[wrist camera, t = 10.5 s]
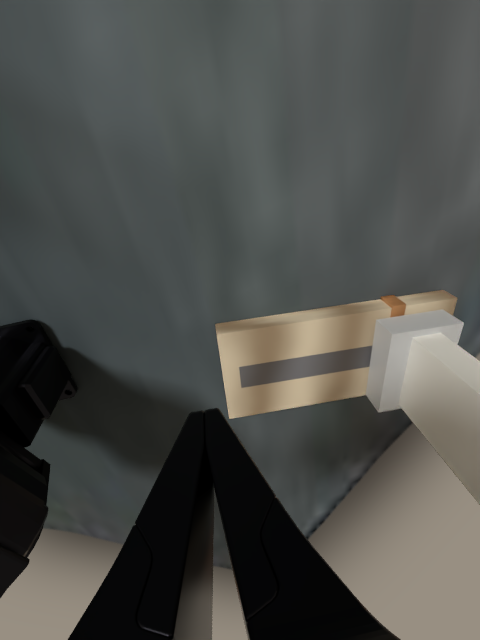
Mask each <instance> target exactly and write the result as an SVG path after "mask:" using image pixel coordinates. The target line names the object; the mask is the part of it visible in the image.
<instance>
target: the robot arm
mask: <svg viewBox="0 0 480 640" xmlns="http://www.w3.org/2000/svg"><path fill="white" fill-rule="evenodd" d="M29 326H32V327H33V328H34V330H32V329H30V328H29ZM68 390H71V391H68ZM76 392H77V387H76V385H75V383H74V381H73V380H72V378H71V373H70V372H69V370H68V368H67V367H66V365H65V363H64V361H63V360H62V358H61V356H60V354H59V353H58V351H57V349H56V348H55V347H54V346H53V345H52V344H51V342H50V340H49V339H48V337H47V335H46V333H45V332H44V330H43V328H42V326H41V325H40V324H39V322H37V321H35V320H26V321H21V322H17V323H12V324H8V325H3V326H0V598H1V597H2V595H3V594H4V592H5V591H6V590H7V588H8V587H9V586H10V585H11V584H12V583H13V582H14V581H15V579H16V578H17V577H18V576H19V575H20V574H21V573H22V572H23V570H24V569H25V568H26V567H27V565H28V564H29V559H28V558H27V557H28V556H29V554H30V553H31V551H32V550H33V548H34V546H35V544H36V542H37V540H38V539H39V536H40V534H41V531H42V529H43V525H44V522H45V519H46V517H47V514H48V507H47V506H46V503H47V493H48V483H49V474H50V464H49V463H48V462H46V461H45V460H44V459H42V460H40V459H39V458H38V457H36V456H35V455H33V454H32V453H31V452H29V451H28V450H26V449H25V448H24V447H28V446H30V445H31V443H32V441H33V439H34V437H35V435H36V433H37V432H38V430H39V428H40V426H41V424H42V422H43V420H44V419H48V418H49V417H50V415H51V413H52V411H53V409H54V408H55V406H56V404H57V402H58V400H63V399H67V398H71V397H74V396H75V394H76ZM214 488H215V493H216V497H217V502H218V506H219V511H220V515H221V520H222V524H223V529H224V533H225V538H226V542H227V547H228V551H229V556H230V560H231V565H232V569H233V574H234V578H235V583H236V587H237V592H238V596H239V600H240V605H241V609H242V614H243V619H244V623H245V628H246V632H247V636H248V640H400V639H399V638H398V637H397V636H395V635H394V634H392V633H391V632H390V631H389V630H388V629H386V628H385V627H384V626H383V625H382V624H381V623H380V622H379V621H378V620H377V619H376V618H375V617H374V616H372V615H371V613H370V612H369V611H368V610H367V609H366V608H365V607H364V606H363V605H362V604H361V603H360V602H359V600H358V599H357V598H356V597H355V596H354V595H353V594H352V592H351V591H350V590H349V589H348V588H347V586H346V585H345V584H344V583H343V582H342V580H341V579H340V578H339V577H338V576H337V574H335V572H334V571H333V570H332V569H331V567H330V566H329V565H328V564H327V563H326V562H325V560H324V559H323V558H322V557H321V556H320V554H319V553H318V552H317V551H316V550H315V549H314V548H313V546H312V545H311V543H310V542H309V541H308V540H307V538H306V537H305V536H304V535H303V533H302V532H301V531H300V530H299V528H298V527H297V526H296V524H295V523H294V521H293V520H292V518H291V517H290V516H289V514H288V513H287V511H286V510H285V508H284V507H283V505H282V504H281V502H280V501H279V499H278V498H276V495H275V493H274V492H273V490H272V489H271V487H270V486H269V484H268V483H267V481H266V480H265V478H264V477H263V475H262V474H261V472H260V471H259V469H258V468H257V466H256V464H255V463H254V461H253V460H252V458H251V457H250V455H249V454H248V452H247V451H246V449H245V448H244V446H243V445H242V443H241V442H240V440H239V439H238V437H237V436H236V434H235V432H234V431H233V429H232V428H231V426H230V425H229V423H228V422H227V420H226V419H225V417H224V416H223V414H222V413H221V411H220V410H219V409H218V408H214V409H208V410H205V413H204V411H196V412H191V413H190V414H189V416H188V417H187V420H186V422H185V424H184V426H183V428H182V430H181V432H180V434H179V436H178V438H177V440H176V442H175V444H174V446H173V448H172V450H171V452H170V454H169V456H168V458H167V460H166V462H165V464H164V466H163V468H162V470H161V472H160V474H159V476H158V478H157V480H156V482H155V484H154V486H153V488H152V490H151V492H150V494H149V496H148V498H147V500H146V502H145V504H144V506H143V508H142V510H141V512H140V514H139V516H138V518H137V520H136V522H135V524H136V525H134V526H133V527H132V529H131V531H130V533H129V535H128V537H127V539H126V541H125V543H124V545H123V547H122V549H121V551H120V553H119V555H118V557H117V558H116V560H115V562H114V564H113V566H112V568H111V569H110V571H109V573H108V575H107V576H106V578H105V579H104V581H103V583H102V585H101V586H100V588H99V590H98V591H97V593H96V595H95V596H94V598H93V599H92V601H91V603H90V605H89V606H88V608H87V609H86V611H85V613H84V614H83V616H82V617H81V619H80V621H79V622H78V624H77V625H76V627H75V629H74V631H73V632H72V634H71V635H70V637H69V638H68V640H212V596H213V595H212V594H213V535H214Z"/></svg>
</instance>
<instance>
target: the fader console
mask: <svg viewBox="0 0 480 640" xmlns="http://www.w3.org/2000/svg"><path fill="white" fill-rule="evenodd" d="M456 302H457V298H456V297H455V296H453V295H451V294H449V293H448V292H446V291H444V290H439V291H432V292H426V293H419V294H412V295H406V296H399V297H396V296H394V295H390V296H383V297H381V299H379V300H372V301H365V302H359V303H352V304H345V305H339V306H332V307H325V308H319V309H312V310H305V311H299V312H292V313H285V314H279V315H272V316H265V317H259V318H252V319H245V320H238V321H232V322H225V323H218V324H215V327H216V333H217V340H218V347H219V353H220V360H221V367H222V373H223V380H224V387H225V393H226V400H227V407H228V413H229V419H232V418H237V417H243V416H249V415H255V414H260V413H266V412H272V411H278V410H283V409H289V408H295V407H301V406H306V405H312V404H318V403H324V402H329V401H335V400H341V399H347V398H352V397H358V396H364V395H366V388H367V381H368V374H369V367H370V360H371V353H372V346H373V338H374V331H375V324H376V320H377V319H384V318H390V317H397V316H403V315H410V314H416V313H423V312H429V311H436V310H442V309H443V310H445V311H446V312H448V313H449V314H451V315H452V316H453V313H454V309H455V305H456Z"/></svg>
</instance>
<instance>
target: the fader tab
mask: <svg viewBox="0 0 480 640" xmlns="http://www.w3.org/2000/svg"><path fill="white" fill-rule="evenodd" d="M463 325H464V323H463V322H462V321H460V320H459V319H457V318H455V317H454V316H452V315H451V314H449V313H448V312H446V311H445V310H443V309H442V310H436V311H429V312H423V313H416V314H410V315H403V316H397V317H390V318H384V319H377V320H376V324H375V331H374V338H373V346H372V353H371V360H370V367H369V374H368V381H367V388H366V396H367V397H368V399H369V400H370V401H371V403H372V404H373V406H374V407H375V408H376V410H377V411H378V413H379V412H384V411H390V410H395V409H401V408H402V410H403V411H404V412H405V413H406V414H407V416H408V417H409V418H410V419H411V421H412V422H413V423H414V424H415V426H416V427H417V428H418V429H419V430H420V432H421V433H422V434H423V435H424V437H425V438H426V439H427V440H428V442H429V443H430V444H431V445H432V446H433V448H434V449H435V450H436V451H437V453H438V454H439V455H440V456H441V457H442V459H443V460H444V461H445V463H446V464H447V465H448V466H449V467H450V469H451V470H452V471H453V472H454V474H455V475H456V476H457V477H458V478H459V480H460V481H461V482H462V483H463V485H464V486H465V487H466V488H467V489H468V491H469V492H470V493H471V495H472V496H473V497H474V498H475V499H476V501H477V502H478V503H479V504H480V361H478V360H477V359H476V358H474V357H473V356H472V355H470V354H469V353H468V352H466V351H465V350H464V349H462V348H461V347H459V346H458V345H457V344H458V341H459V338H460V335H461V331H462V328H463Z"/></svg>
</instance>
